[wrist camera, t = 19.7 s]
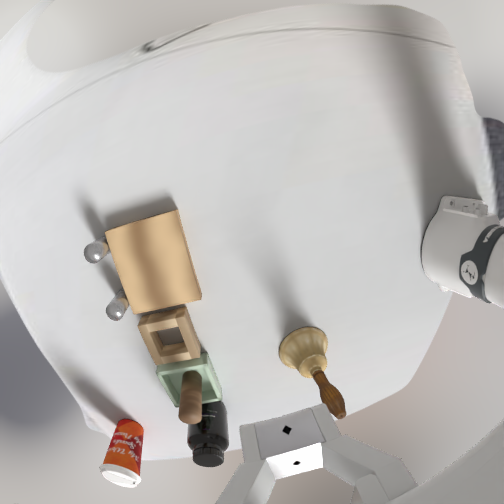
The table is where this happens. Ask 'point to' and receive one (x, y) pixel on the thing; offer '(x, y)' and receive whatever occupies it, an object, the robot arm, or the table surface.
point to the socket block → (165, 321)
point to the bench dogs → (120, 301)
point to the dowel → (191, 398)
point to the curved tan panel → (154, 262)
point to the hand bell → (312, 364)
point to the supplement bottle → (209, 435)
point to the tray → (174, 371)
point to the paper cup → (124, 454)
